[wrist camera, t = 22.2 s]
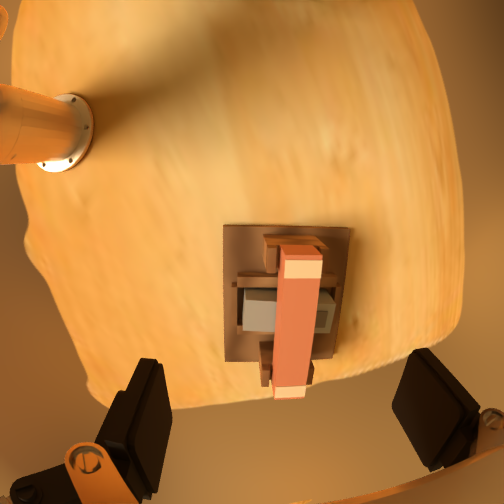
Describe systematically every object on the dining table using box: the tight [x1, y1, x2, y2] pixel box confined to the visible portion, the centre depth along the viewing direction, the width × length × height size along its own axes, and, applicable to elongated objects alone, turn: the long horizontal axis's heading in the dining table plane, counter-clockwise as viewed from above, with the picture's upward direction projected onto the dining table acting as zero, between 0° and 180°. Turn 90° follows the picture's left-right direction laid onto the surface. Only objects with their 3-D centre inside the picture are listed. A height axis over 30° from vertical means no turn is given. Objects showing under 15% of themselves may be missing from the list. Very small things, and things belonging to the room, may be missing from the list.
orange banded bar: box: [271, 245, 323, 400], centre depth 36 cm, size 4×20×5 cm, turn 179°
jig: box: [223, 225, 350, 387], centre depth 41 cm, size 18×22×9 cm
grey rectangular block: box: [242, 287, 336, 333], centre depth 41 cm, size 12×4×6 cm, turn 85°
